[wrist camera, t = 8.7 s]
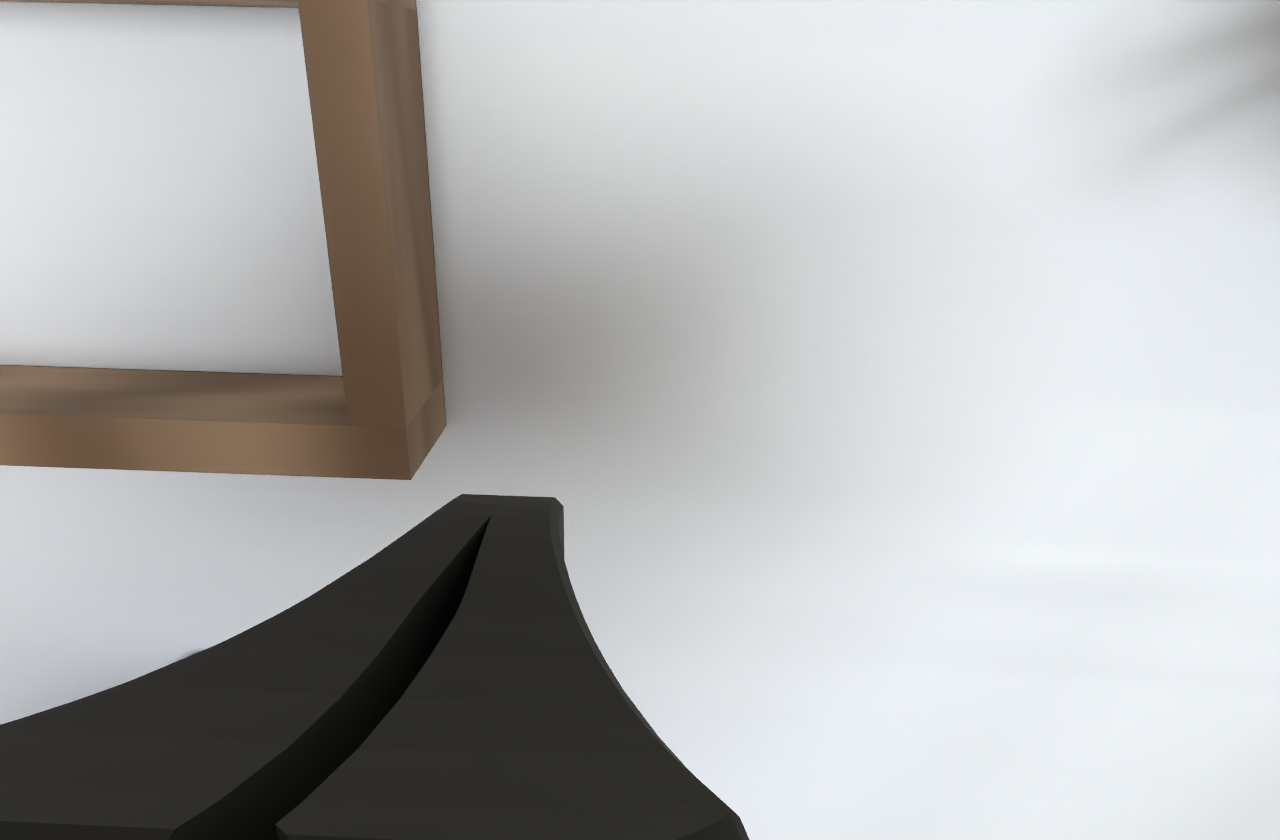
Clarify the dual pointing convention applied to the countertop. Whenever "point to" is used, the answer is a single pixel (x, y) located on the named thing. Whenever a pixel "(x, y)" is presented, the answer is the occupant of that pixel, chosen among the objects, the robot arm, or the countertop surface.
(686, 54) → the countertop surface
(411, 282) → the wooden frame
